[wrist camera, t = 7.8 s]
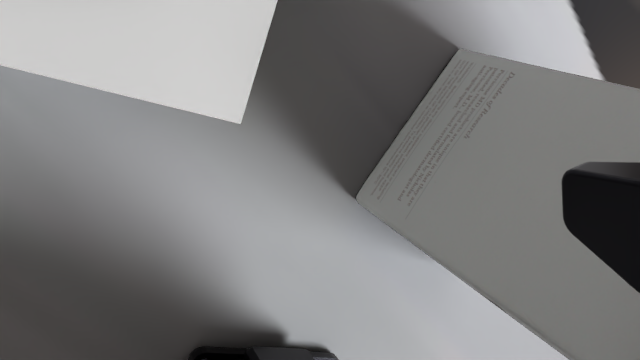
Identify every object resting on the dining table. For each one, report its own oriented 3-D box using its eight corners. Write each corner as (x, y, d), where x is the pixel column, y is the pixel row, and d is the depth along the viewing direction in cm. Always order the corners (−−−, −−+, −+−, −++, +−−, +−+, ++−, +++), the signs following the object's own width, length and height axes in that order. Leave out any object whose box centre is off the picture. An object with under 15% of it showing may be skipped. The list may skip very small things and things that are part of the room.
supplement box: (346, 199, 24) (625, 403, 13) (458, 41, 24) (831, 117, 13) (457, 275, 28) (740, 481, 17) (553, 141, 28) (899, 262, 17)
